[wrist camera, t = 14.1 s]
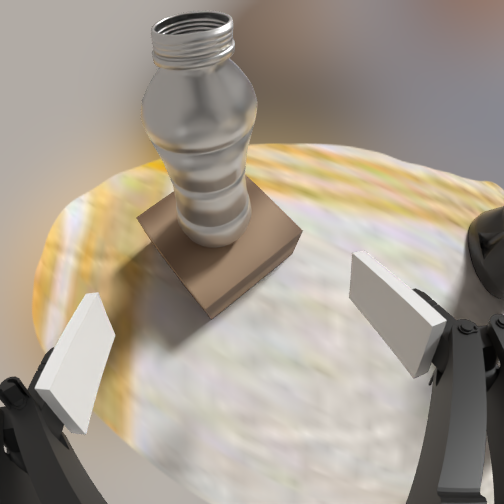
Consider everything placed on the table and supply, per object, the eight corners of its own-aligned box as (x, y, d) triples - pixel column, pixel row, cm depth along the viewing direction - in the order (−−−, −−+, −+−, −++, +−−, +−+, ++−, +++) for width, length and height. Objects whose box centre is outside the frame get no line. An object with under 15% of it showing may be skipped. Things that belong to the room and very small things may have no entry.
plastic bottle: (253, 252, 27) (280, 45, 8) (181, 257, 26) (99, 66, 8) (247, 194, 29) (259, 1, 11) (182, 199, 29) (135, 13, 10)
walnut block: (292, 253, 33) (302, 230, 28) (211, 319, 30) (205, 309, 25) (228, 187, 37) (226, 157, 31) (151, 241, 33) (136, 217, 28)
